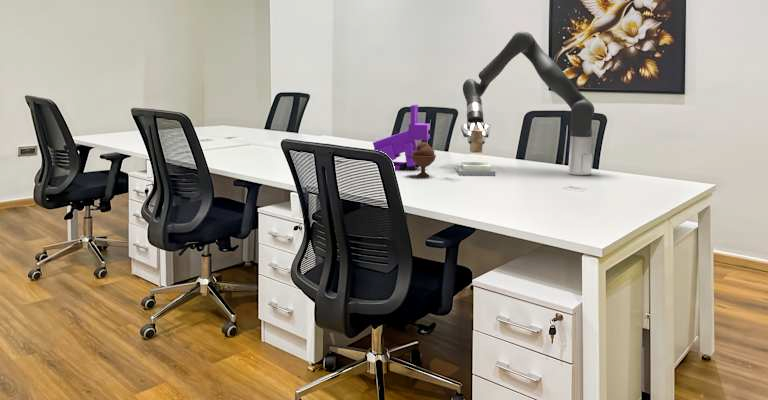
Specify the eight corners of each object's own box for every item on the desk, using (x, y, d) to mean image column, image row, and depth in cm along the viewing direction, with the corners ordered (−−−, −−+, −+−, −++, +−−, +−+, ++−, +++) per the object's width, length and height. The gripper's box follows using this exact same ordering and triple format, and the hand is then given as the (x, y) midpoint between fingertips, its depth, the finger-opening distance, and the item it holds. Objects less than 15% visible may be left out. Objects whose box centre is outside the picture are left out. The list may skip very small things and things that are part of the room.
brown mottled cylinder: (480, 151, 293) (481, 129, 291) (482, 152, 288) (483, 130, 286) (469, 151, 293) (470, 129, 291) (471, 152, 288) (471, 130, 286)
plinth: (490, 170, 300) (490, 161, 299) (495, 175, 284) (495, 166, 284) (456, 169, 300) (456, 161, 300) (459, 175, 285) (459, 166, 284)
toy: (427, 171, 296) (428, 106, 290) (369, 168, 303) (369, 105, 297) (431, 166, 310) (433, 104, 304) (376, 164, 316) (376, 103, 310)
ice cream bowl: (405, 175, 283) (406, 142, 280) (423, 173, 290) (423, 140, 287) (422, 178, 275) (423, 144, 272) (440, 176, 282) (441, 142, 279)
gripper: (460, 109, 294) (461, 137, 285) (491, 109, 294) (493, 138, 285) (458, 119, 301) (460, 148, 291) (489, 120, 300) (491, 148, 291)
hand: (476, 143), depth 288 cm, fingers closed on brown mottled cylinder, 5 cm apart
